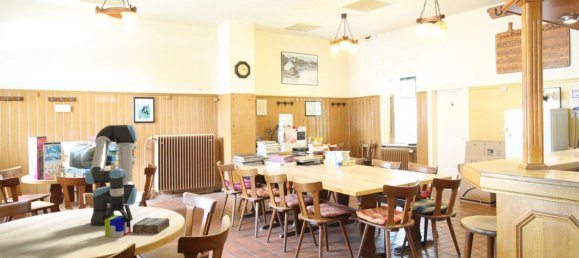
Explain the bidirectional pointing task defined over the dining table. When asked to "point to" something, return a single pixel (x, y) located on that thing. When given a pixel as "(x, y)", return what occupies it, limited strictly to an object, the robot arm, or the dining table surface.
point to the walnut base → (151, 225)
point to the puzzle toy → (116, 226)
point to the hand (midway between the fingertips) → (118, 232)
